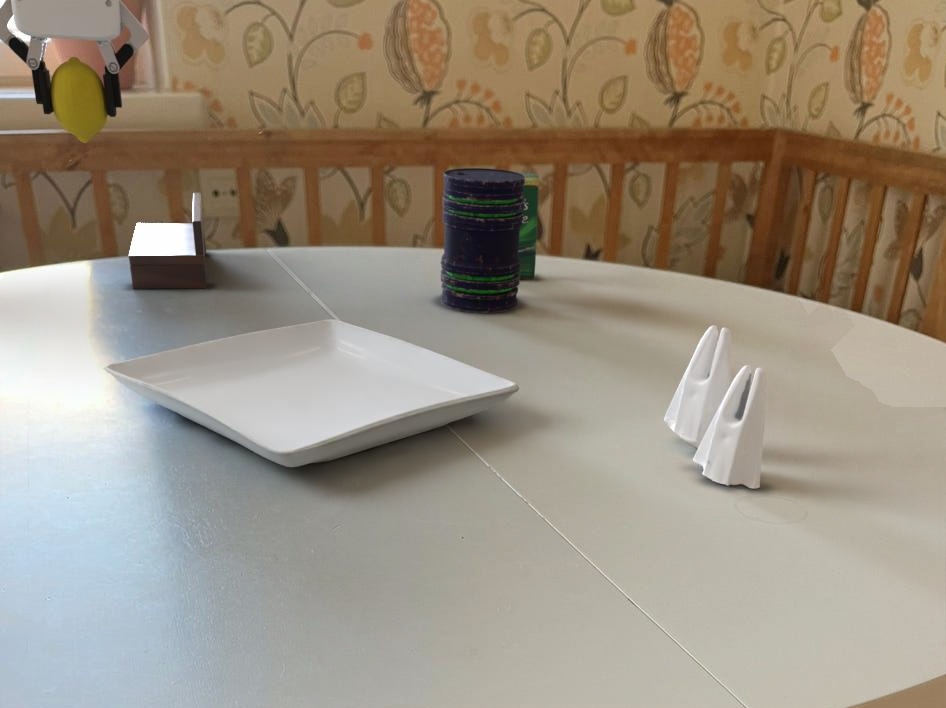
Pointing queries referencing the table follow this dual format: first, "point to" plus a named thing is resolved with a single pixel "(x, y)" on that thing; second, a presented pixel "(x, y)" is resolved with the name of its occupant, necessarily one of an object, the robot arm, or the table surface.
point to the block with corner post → (170, 253)
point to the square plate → (312, 389)
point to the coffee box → (529, 227)
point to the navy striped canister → (481, 239)
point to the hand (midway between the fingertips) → (80, 112)
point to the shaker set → (721, 413)
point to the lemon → (78, 99)
